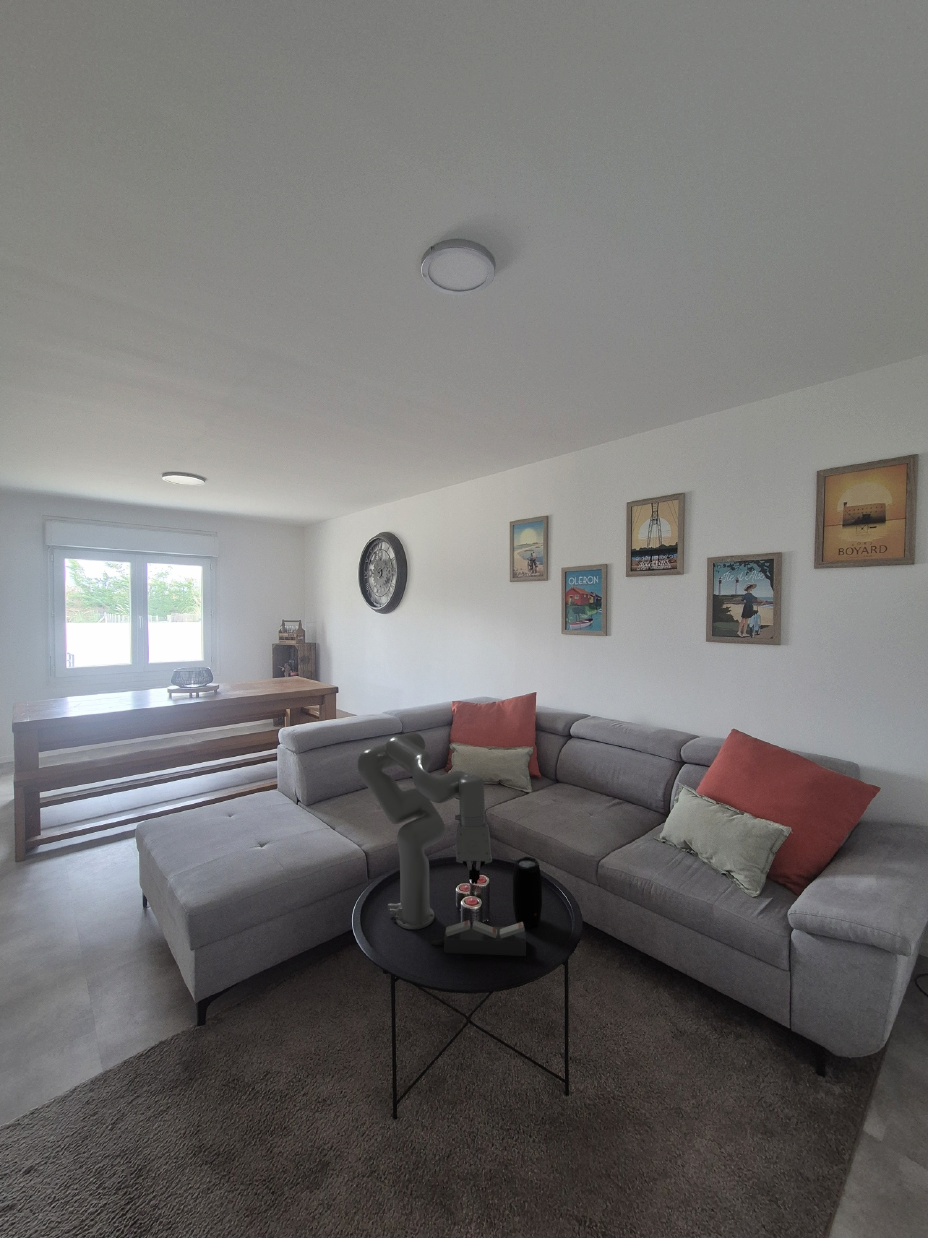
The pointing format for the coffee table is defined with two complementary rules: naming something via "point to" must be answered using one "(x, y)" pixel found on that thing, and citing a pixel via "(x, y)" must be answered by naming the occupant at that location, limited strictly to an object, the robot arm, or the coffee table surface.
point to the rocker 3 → (512, 930)
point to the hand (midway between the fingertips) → (474, 881)
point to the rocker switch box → (483, 943)
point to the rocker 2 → (485, 929)
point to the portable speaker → (527, 891)
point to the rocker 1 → (458, 928)
